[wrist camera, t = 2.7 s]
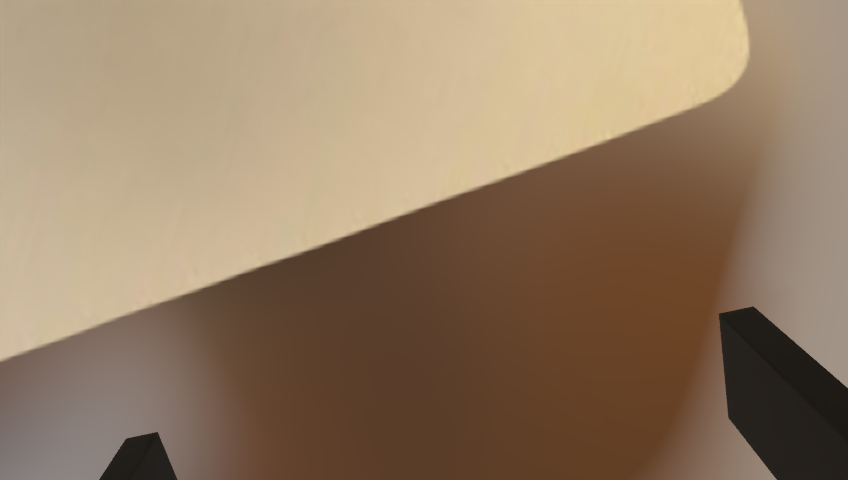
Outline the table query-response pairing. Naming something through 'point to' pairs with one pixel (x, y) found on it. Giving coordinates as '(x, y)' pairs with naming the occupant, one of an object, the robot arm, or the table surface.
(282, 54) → the table surface
